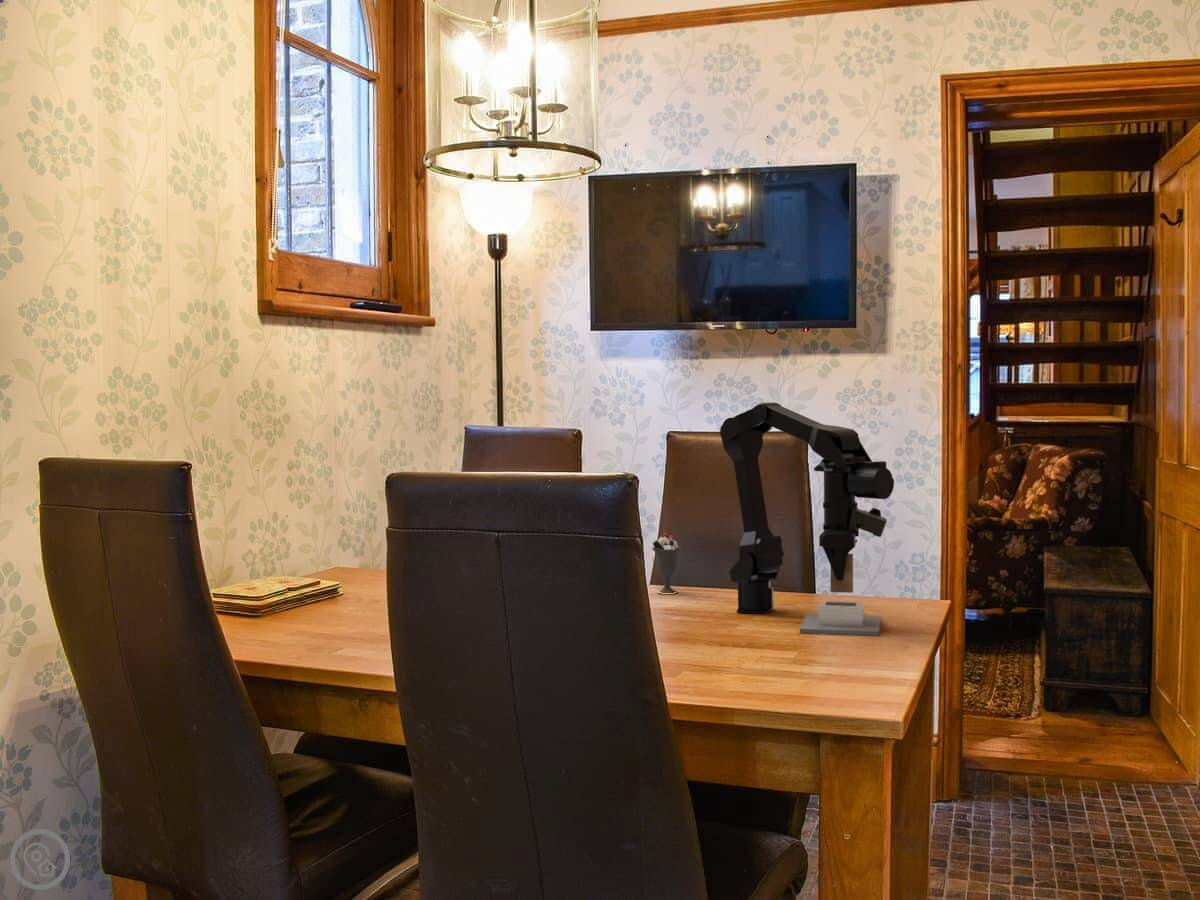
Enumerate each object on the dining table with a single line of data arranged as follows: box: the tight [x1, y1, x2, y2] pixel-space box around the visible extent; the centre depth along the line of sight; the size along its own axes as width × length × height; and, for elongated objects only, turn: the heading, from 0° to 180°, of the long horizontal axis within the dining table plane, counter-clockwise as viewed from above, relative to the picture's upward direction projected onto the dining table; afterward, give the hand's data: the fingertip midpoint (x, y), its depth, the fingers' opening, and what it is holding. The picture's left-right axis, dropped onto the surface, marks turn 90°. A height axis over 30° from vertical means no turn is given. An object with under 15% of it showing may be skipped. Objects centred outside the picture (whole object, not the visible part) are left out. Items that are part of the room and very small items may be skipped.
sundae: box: [651, 525, 682, 593], centre depth 246 cm, size 7×7×15 cm
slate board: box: [799, 613, 882, 637], centre depth 206 cm, size 14×14×1 cm
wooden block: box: [830, 553, 854, 594], centre depth 206 cm, size 4×2×7 cm, turn 74°
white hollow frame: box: [817, 600, 865, 626], centre depth 206 cm, size 8×6×4 cm
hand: (840, 579), depth 206 cm, fingers closed on wooden block, 2 cm apart
